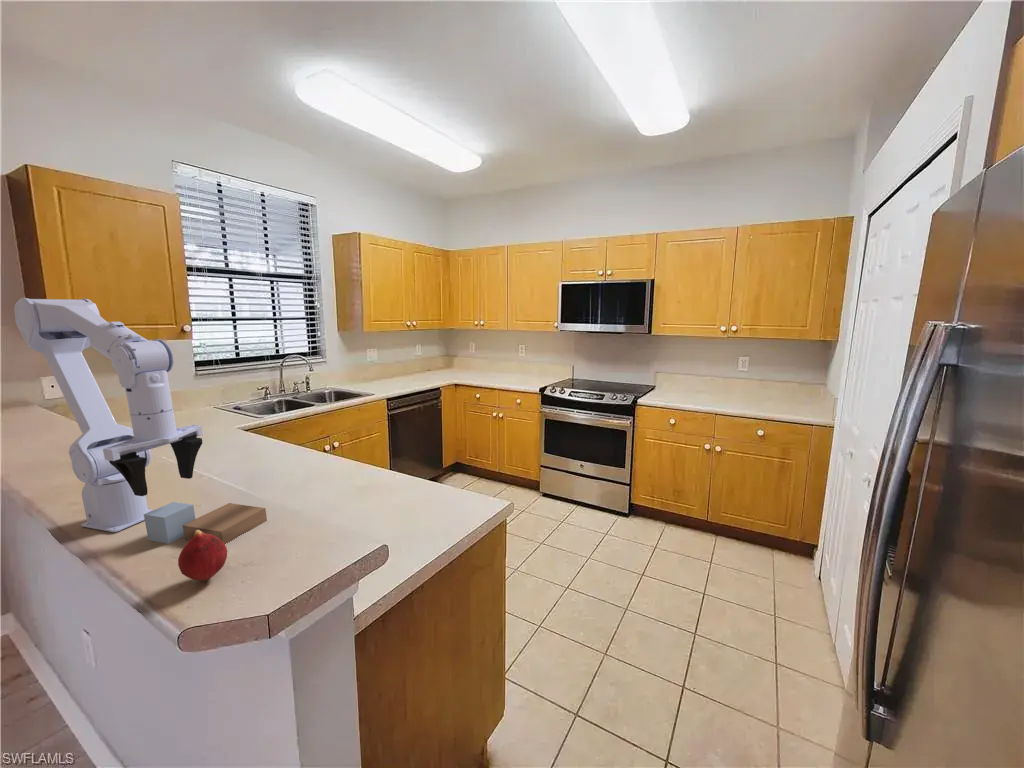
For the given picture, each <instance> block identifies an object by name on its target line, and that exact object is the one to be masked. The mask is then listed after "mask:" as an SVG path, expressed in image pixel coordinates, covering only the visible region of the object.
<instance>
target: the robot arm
mask: <svg viewBox="0 0 1024 768" xmlns="http://www.w3.org/2000/svg"><path fill="white" fill-rule="evenodd" d="M13 310H14V320H15V324H16V327H17V328H18V330H19V333H20V335H21V336H22V338H23V341H24V343H26V345H27V347H28V349H29V350H31V351H35V352H38V353H41V354H42V356H43V357H44V359H45V360H46V361H45V362H46V363H47V364H48V366H49V368H50V371H51V373H52V374H53V376H54V379H55V380H56V383H57V385H58V387H59V389H60V391H61V392H62V395H63V397H64V399H65V401H66V403H67V405H68V407H69V409H70V411H71V413H72V415H73V417H74V419H75V421H76V423H77V425H78V427H79V430H80V431H81V433H82V434H80V436H79V437H78V438H77V439H76V440H74V441H73V443H72V444H71V445H70V447H69V449H68V454H69V457H70V461H71V467H72V471H73V473H74V475H75V476H76V478H77V479H78V480H79V481H80V482H81V483H84V486H83V487H82V489H81V499H82V504H83V508H84V513H85V517H86V521H85V522H83V523H81V524H80V525H81V527H83V528H89V529H93V530H99V531H104V532H111V533H117V532H119V531H122V530H125V529H127V528H129V527H132V526H134V525H136V524H138V523H141V522H144V521H145V519H144V514H146V513H148V512H150V511H153V510H154V509H150V508H149V506H148V501H147V500H148V499H147V496H148V485H147V480H146V468H147V467H148V466H149V464H150V462H151V460H152V451H151V450H153V449H155V448H160V447H162V446H166V445H170V447H171V449H172V451H173V454H174V456H175V459H176V464H177V468H178V473H179V477H180V478H181V479H189V480H190V479H192V478H193V476H194V475H193V474H194V468H195V462H196V458H197V455H198V454H199V453H198V452H199V450H200V449H201V447H202V445H203V438H202V437H201V436H203V429H202V425H199V424H191V425H186V426H182V427H177V425H176V423H177V422H176V419H175V412H174V406H173V400H172V399H173V398H172V394H171V393H172V392H171V388H170V380H169V376H168V375H169V374H168V373H169V372H171V370H173V366H174V353H173V352H172V348H171V347H170V346H169V344H168V343H167V342H165V341H164V340H163V339H160V338H158V339H153V340H152V339H146V338H145V337H143V336H142V335H140V334H138V333H136V332H135V331H134V330H132V329H130V328H128V327H127V326H125V324H124V323H123V322H121V321H107V320H105V318H103V317H102V316H101V314H100V310H99V308H98V306H97V304H96V303H95V302H93V301H92V300H90V299H88V298H81V299H66V298H65V299H59V298H57V299H56V298H55V299H54V298H53V299H52V298H49V299H48V298H27V297H21V298H19V299H18V301H17V302H16V303H15V305H14V309H13ZM89 347H91V348H93V349H94V350H96V351H97V352H98V353H100V354H101V355H102V356H104V357H106V358H107V359H109V360H110V361H111V366H112V367H113V369H114V371H115V373H116V374H117V377H118V380H119V384H120V386H121V388H124V389H125V393H126V399H127V404H128V410H129V411H128V413H129V417H130V422H131V426H132V427H129V426H126V425H123V424H119V423H117V422H116V419H115V418H114V416H113V413H112V411H111V409H110V407H109V405H108V402H107V401H106V399H105V396H104V395H103V393H102V391H101V389H100V387H99V385H98V382H97V381H96V378H95V377H94V375H93V373H92V370H91V369H90V367H89V365H88V362H87V361H86V358H85V357H84V355H83V350H85V349H87V348H89Z"/></svg>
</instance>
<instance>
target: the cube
mask: <svg viewBox="0 0 1024 768" xmlns="http://www.w3.org/2000/svg"><path fill="white" fill-rule="evenodd" d="M152 510H153V511H150V512H148V513H146V514H144V519H145V520H144V523H145V529H146V535H147V539H148V541H151V542H156V543H162V544H167V545H169V544H172V543H174V542H176V541H178V540H180V539H182V538H185V537H184V531H183V525H184V524H186V523H188V522H190V521H193V520H195V519H196V515H195V509H194V504H190V503H182V502H177V501H172V502H170V503H167V504H165V505H162V506H160V507H157V508H156V509H152Z"/></svg>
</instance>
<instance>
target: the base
mask: <svg viewBox="0 0 1024 768" xmlns="http://www.w3.org/2000/svg"><path fill="white" fill-rule="evenodd" d="M265 522H268V516H267V511H266V507H260V506H259V507H258V506H252V505H245V504H238V503H233V502H232V503H231V502H229V503H227V504H224V505H222V506H220V507H218V508H216V509H214V510H212V511H209V512H208V513H205V514H203V515H201V516H199V517H197V518H195V520H193V521H190V522H188V523H186V524H184V525H183V531H184V537H183V538H184V539H185V540H189V541H190V540H191V539H193V538H194V534H195V530H200V531H202V532H203V533H205V534H210V535H214V536H216V537H217V538H219V539H220V540H221V541H222V542H223V543H224V544H226V543H227V544H229V543H231V542H232V540H233V539H234V540H236V539H238V538H239V537H238V536H240V535H241V536H243V535H245V534H247V533H248V532H251V531H252V530H254V529H256V528H257V527H259V526H260V525H262V524H264V523H265ZM246 532H247V533H246ZM244 533H245V534H244ZM242 534H243V535H242ZM241 536H240V537H241ZM237 537H238V538H237ZM235 538H236V539H235ZM234 540H233V541H234ZM230 541H231V542H230ZM228 542H229V543H228ZM227 544H226V545H227Z"/></svg>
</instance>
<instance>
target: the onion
mask: <svg viewBox="0 0 1024 768" xmlns="http://www.w3.org/2000/svg"><path fill="white" fill-rule="evenodd" d="M227 558H228V548H227V546H226V545H225V544H224V543H223V542H222V541H221V540H220V539H219V538H217V537H216V536H214V535H210V534H205V533H203V532H202V531H200V530H195V534H194V538H193V539H191V540H189V541H188V542H187V543H186V544H185V545H184V547H183V548H182V550H181V552H180V554H179V556H178V559H177V562H178V563H177V565H178V568H179V571H180V573H181V574H182V575H183V576H185V577H186V578H189V579H191V580H193V581H200V582H207V581H209V580H211V579H212V578H213V577H215V575H217V573H219V572H220V570H221V569H222V568H223V567H224V566H225V563H226V561H227Z"/></svg>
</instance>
